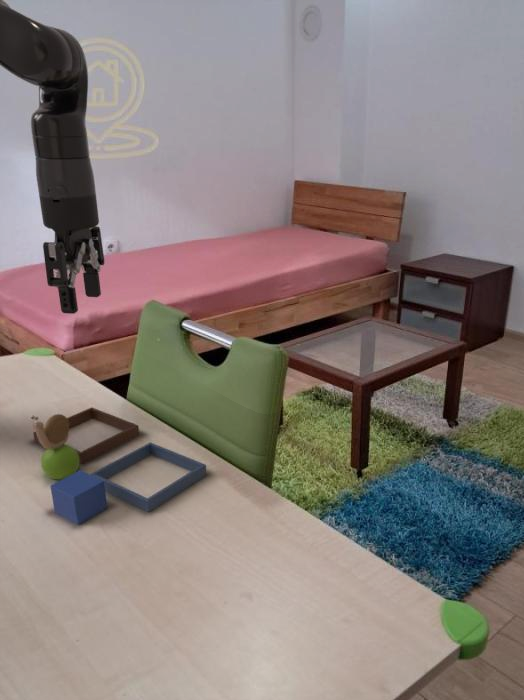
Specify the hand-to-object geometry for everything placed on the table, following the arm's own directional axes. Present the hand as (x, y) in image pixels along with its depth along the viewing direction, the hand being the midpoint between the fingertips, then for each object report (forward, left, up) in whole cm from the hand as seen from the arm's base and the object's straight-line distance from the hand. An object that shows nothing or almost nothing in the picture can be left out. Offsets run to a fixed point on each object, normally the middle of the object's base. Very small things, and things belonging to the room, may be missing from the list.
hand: (82, 304), depth 95 cm
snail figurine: (+3, -10, -25) cm, 27 cm away
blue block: (+13, -14, -25) cm, 31 cm away
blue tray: (+15, -3, -25) cm, 29 cm away
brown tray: (-3, 0, -25) cm, 25 cm away
